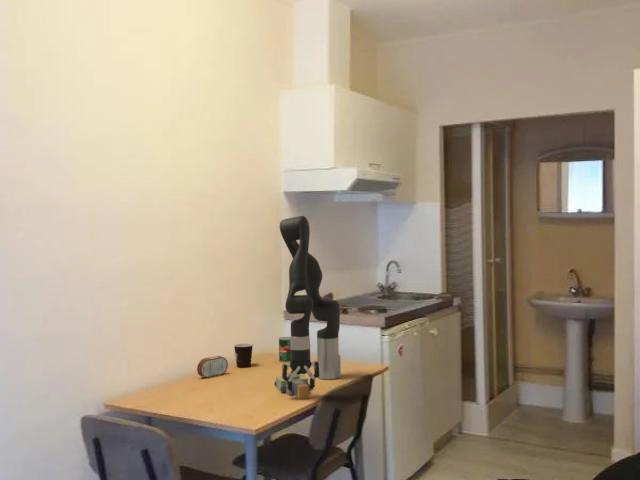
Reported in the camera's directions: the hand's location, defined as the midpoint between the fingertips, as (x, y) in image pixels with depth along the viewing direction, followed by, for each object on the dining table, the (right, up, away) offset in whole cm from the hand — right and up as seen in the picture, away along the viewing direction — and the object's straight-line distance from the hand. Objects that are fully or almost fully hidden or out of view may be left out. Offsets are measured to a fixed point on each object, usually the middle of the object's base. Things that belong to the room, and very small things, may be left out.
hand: (301, 389), depth 256 cm
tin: (-40, -3, +39) cm, 56 cm away
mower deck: (-3, -2, +10) cm, 11 cm away
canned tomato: (-9, -2, +70) cm, 70 cm away
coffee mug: (-28, -2, +59) cm, 66 cm away
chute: (0, -3, +1) cm, 3 cm away
